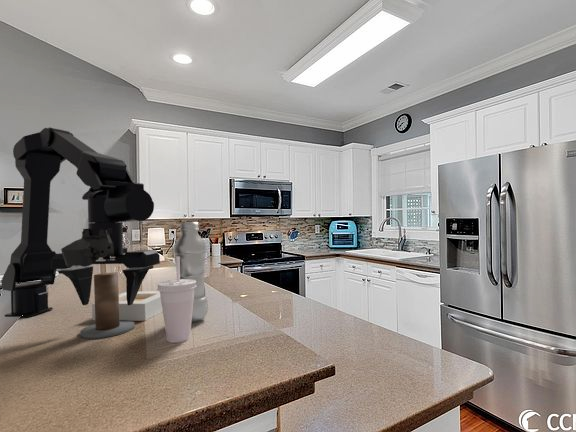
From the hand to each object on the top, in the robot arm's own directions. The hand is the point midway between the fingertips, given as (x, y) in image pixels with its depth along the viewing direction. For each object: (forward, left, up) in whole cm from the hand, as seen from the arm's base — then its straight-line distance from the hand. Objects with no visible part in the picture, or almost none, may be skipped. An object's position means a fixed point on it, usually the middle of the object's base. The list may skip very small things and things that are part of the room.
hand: (107, 304), depth 62 cm
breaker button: (-2, +12, -3) cm, 13 cm away
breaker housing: (-2, +12, -5) cm, 13 cm away
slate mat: (0, 0, -5) cm, 5 cm away
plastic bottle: (+14, +6, -5) cm, 16 cm away
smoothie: (+16, -4, -5) cm, 17 cm away
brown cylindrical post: (0, 0, -4) cm, 4 cm away
